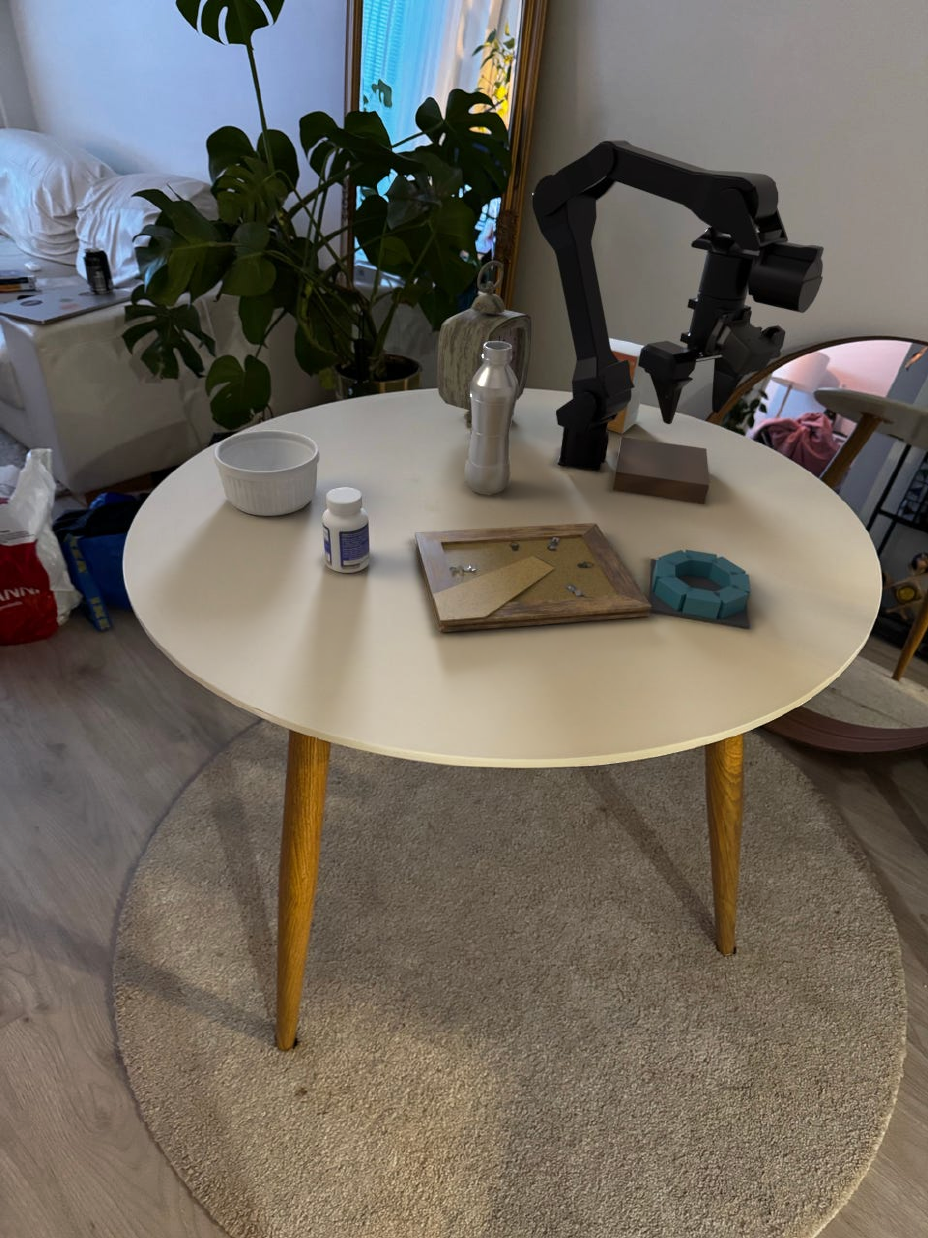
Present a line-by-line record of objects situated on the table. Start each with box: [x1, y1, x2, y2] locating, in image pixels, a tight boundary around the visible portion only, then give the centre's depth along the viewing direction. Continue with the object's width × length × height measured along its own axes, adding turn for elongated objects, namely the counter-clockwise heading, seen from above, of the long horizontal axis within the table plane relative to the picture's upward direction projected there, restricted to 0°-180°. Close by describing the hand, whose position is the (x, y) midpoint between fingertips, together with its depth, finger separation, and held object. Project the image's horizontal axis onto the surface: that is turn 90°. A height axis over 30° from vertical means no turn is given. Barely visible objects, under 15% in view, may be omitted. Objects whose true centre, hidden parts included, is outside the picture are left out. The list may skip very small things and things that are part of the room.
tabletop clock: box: [436, 260, 532, 435], centre depth 119 cm, size 14×9×25 cm, turn 147°
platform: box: [612, 436, 710, 505], centre depth 112 cm, size 13×13×3 cm
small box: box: [607, 337, 647, 435], centre depth 125 cm, size 8×6×13 cm
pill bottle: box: [321, 486, 371, 574], centre depth 87 cm, size 5×5×9 cm
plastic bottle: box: [463, 341, 519, 495], centre depth 101 cm, size 6×7×20 cm
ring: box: [652, 549, 752, 619], centre depth 88 cm, size 11×11×2 cm
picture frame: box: [414, 522, 651, 633], centre depth 89 cm, size 19×2×24 cm
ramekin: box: [213, 429, 320, 517], centre depth 99 cm, size 13×13×7 cm
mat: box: [648, 558, 750, 630], centre depth 88 cm, size 11×11×1 cm
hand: (691, 417), depth 101 cm, fingers open, 9 cm apart
